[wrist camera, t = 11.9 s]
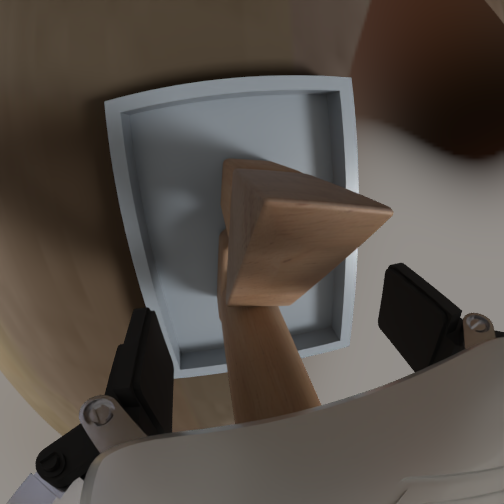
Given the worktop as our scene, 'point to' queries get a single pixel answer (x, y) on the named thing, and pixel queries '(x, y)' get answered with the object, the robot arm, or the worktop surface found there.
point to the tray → (209, 197)
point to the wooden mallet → (278, 274)
